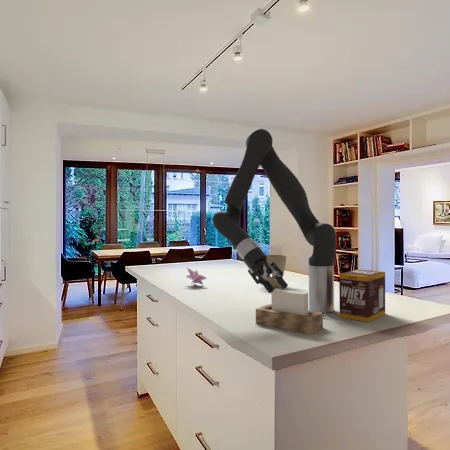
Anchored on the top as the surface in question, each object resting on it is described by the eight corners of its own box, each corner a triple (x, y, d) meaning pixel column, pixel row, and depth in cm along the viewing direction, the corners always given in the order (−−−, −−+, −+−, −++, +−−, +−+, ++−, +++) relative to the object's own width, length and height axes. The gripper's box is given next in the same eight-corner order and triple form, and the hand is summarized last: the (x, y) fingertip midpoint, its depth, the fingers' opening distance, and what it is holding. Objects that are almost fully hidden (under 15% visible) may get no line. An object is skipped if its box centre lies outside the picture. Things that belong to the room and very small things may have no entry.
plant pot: (285, 283, 194) (285, 254, 194) (287, 289, 179) (287, 257, 179) (257, 283, 196) (257, 254, 195) (257, 289, 181) (257, 257, 181)
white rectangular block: (271, 319, 121) (271, 290, 121) (276, 317, 123) (276, 288, 123) (304, 326, 113) (303, 294, 113) (308, 324, 115) (308, 293, 115)
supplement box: (338, 317, 128) (338, 273, 128) (358, 309, 139) (358, 268, 138) (367, 322, 120) (367, 276, 120) (385, 313, 131) (385, 271, 131)
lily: (207, 290, 186) (211, 272, 190) (187, 283, 181) (191, 265, 185) (196, 293, 195) (200, 276, 200) (177, 287, 190) (181, 270, 195)
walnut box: (255, 322, 122) (255, 308, 121) (270, 317, 128) (270, 303, 128) (309, 334, 109) (309, 318, 109) (322, 327, 116) (322, 312, 115)
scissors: (319, 310, 137) (361, 322, 119) (319, 312, 137) (362, 324, 119) (297, 314, 132) (338, 327, 114) (297, 316, 132) (338, 329, 114)
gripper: (244, 247, 121) (274, 285, 113) (268, 245, 131) (296, 279, 124) (232, 262, 124) (260, 300, 117) (256, 258, 135) (283, 292, 128)
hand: (279, 289), depth 121 cm, fingers open, 8 cm apart
